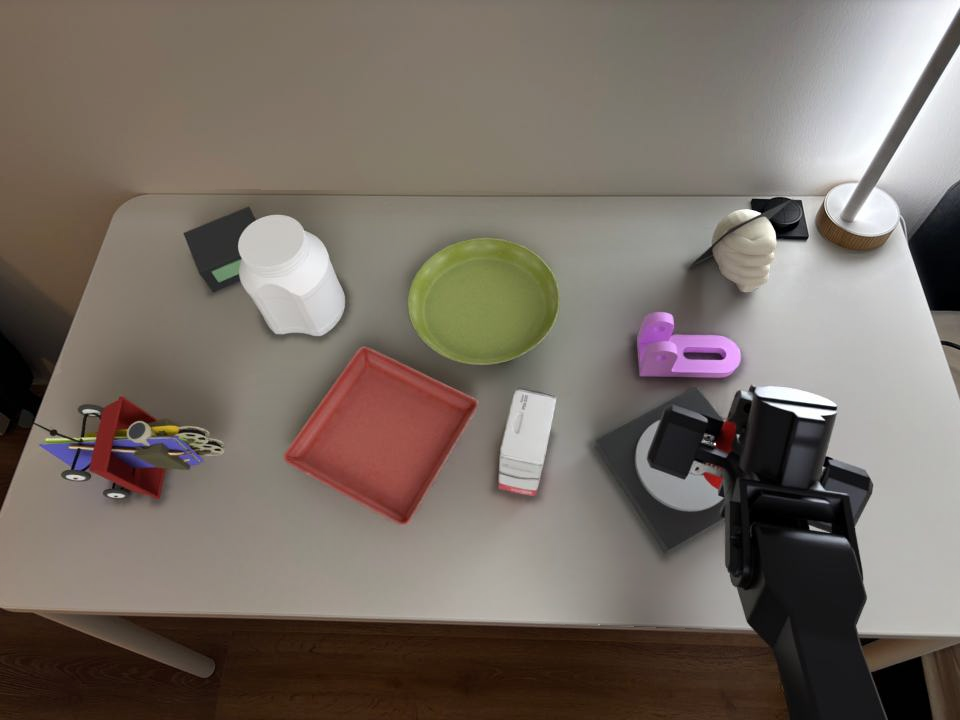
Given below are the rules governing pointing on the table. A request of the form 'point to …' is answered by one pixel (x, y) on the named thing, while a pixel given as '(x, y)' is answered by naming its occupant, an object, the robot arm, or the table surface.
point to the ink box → (525, 441)
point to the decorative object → (744, 247)
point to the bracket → (681, 351)
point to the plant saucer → (382, 434)
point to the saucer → (483, 301)
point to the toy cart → (127, 448)
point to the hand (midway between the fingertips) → (746, 437)
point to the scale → (662, 478)
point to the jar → (290, 277)
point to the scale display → (219, 248)
